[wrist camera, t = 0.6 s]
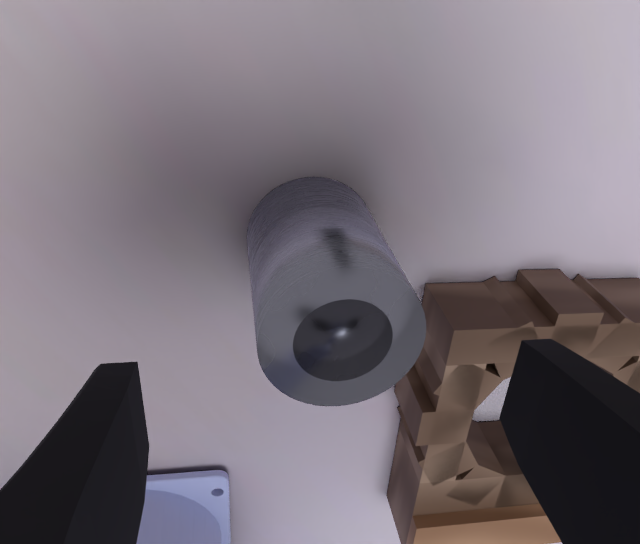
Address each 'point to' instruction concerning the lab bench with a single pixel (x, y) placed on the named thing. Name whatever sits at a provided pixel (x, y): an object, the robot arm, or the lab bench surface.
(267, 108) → the lab bench surface
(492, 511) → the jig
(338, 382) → the bushing
